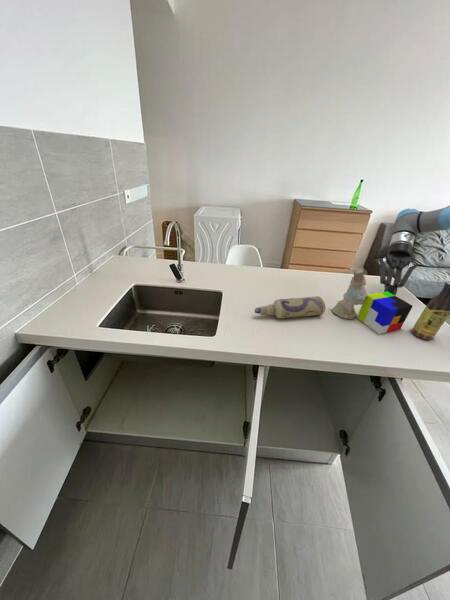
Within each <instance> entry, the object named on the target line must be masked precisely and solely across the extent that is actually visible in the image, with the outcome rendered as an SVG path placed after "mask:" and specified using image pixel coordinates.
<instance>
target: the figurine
mask: <svg viewBox="0 0 450 600" xmlns="http://www.w3.org/2000/svg"><path fill="white" fill-rule="evenodd" d="M366 285H367V281H366V277H365V273H364V270H363V268H362V267H357V268H355V269H354V270H353V276H352V277H351V280H350V281H349V285H348V288H347V289H346V291H345V292H344V294H343V295H342V296H343V299H341V300H339V301H338V302H337V303H336V305H335V306H334V307H332V308H331V311H332V312H333V314H335V315H336V316H338V317H339V318H341V319H342V318H343V319H345V320H346V319H347V320H353V319H354V318H355V317H357V313H356V311H355V307H354V306H362V304H364V299H365V298H367V290H366V287H365V286H366Z"/></svg>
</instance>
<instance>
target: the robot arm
mask: <svg viewBox="0 0 450 600" xmlns="http://www.w3.org/2000/svg"><path fill="white" fill-rule="evenodd" d="M448 230H450V205H447V206H446V207H442V208H439V209H435V210H430V211H425V212H420V210H418V209H416V208H405V209H402V210H401V211H399V212H398V213H397V216H396V219H395V220H394V226H393V229H392V235H391V238H390V242H389V247H388V249H387V250H388V251H387V254H386V256H385V257H383V258H381V257H380V258H379V259H378V260H377V265H378V266H379V282H380V284H381V285H384V289H383V292H386V291H388V292H389V293H391V294H393V295H395V296H396V295H397V293H398V289H399V288H400V289H402V288H403V287H404V286H405V285H406V283H407V282H408V279H409V278H410V276H411V275H412V273H413V271H414V270H415V269H416V268H418V265H417V264H415V263H413V262H412V260H411V257H412V251H413V247H414V243H415V238H416V235H417V234H423V233H430V232H439V231H448ZM386 264H387V266H388V271H387V274H386ZM406 267H407V270H406V272H405V273H404V275H403V277H402V273H403V270H404V268H406ZM394 273H395V274H394ZM386 275H387V276H386ZM393 276H394V280H393ZM401 277H402V279H401ZM392 280H393V284H392Z"/></svg>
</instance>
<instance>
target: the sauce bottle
mask: <svg viewBox="0 0 450 600" xmlns="http://www.w3.org/2000/svg"><path fill="white" fill-rule="evenodd" d="M449 316H450V281H446V282H445V283H444V285H443V287H442V289H441V291H440V292H439V293H438V294H437V295H436V296H433V297H432V298H431V299H430V300H429V302H428V303H427V304H426V306H424V308H423V311H422V312H421V314H420V316H419V317H418V318H417V319H416V321H415V323H414V325H413V328H412V329H411V332H412V334H413V335H415V336H416V337H417V338H420V339H423V340H427V341H429V340H432V339H433V338H434V337H435V336H436V335H437V333H438V332H439V331H440V329H441V328H442V326H443V325H444V323H445V322H446V320H447V319H448V318H449Z"/></svg>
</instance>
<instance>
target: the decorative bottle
mask: <svg viewBox="0 0 450 600" xmlns="http://www.w3.org/2000/svg"><path fill="white" fill-rule="evenodd" d="M325 312H326V302H325V300H324V299H323V298H322V297H321V296H320V295H319V296H318V295H315V296H308V297H307V296H306V297H293V298H291V297H290V298H282V299H281V298H279V299H275V300H274V301H273V304H267V305H263V306H259V307H256V308H255V309H254V313H255V314H258V315H260V316H263V315H266V316H269V315H270V316H272V315H274V316H275V317H276V318H277V319H286V318H287V319H288V318H290V319H291V318H299V317H309V316H310V317H311V316H321V315H324V314H325Z"/></svg>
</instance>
